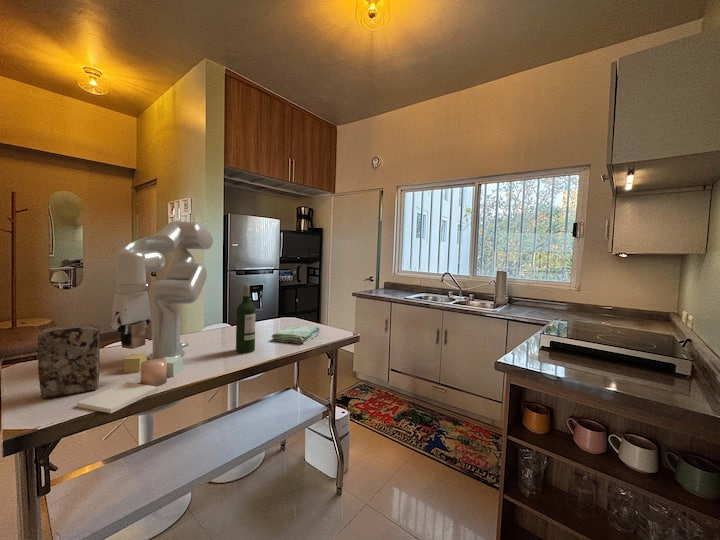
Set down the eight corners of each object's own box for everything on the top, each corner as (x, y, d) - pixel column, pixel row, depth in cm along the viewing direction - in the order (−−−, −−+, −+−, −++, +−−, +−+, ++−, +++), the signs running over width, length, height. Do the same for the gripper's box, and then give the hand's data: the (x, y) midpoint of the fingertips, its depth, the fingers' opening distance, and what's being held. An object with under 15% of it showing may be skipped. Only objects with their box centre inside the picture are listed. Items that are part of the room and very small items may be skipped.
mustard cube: (131, 367, 111) (131, 354, 111) (146, 367, 112) (146, 353, 112) (123, 372, 106) (123, 358, 106) (139, 372, 107) (139, 358, 107)
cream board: (127, 385, 96) (127, 381, 96) (157, 390, 93) (157, 386, 93) (77, 406, 82) (77, 402, 82) (111, 413, 79) (110, 408, 79)
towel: (270, 342, 149) (270, 332, 148) (289, 332, 169) (290, 323, 169) (304, 346, 144) (304, 335, 144) (320, 335, 165) (320, 325, 165)
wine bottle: (250, 354, 129) (251, 285, 128) (232, 353, 130) (233, 284, 128) (257, 348, 137) (258, 283, 136) (240, 347, 137) (241, 282, 136)
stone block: (100, 382, 97) (99, 321, 96) (100, 390, 92) (99, 326, 91) (40, 394, 88) (39, 327, 88) (37, 403, 83) (36, 332, 82)
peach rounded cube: (154, 377, 102) (154, 357, 102) (171, 380, 101) (171, 359, 101) (135, 386, 96) (135, 364, 95) (152, 389, 94) (152, 367, 94)
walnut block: (135, 343, 104) (134, 320, 103) (145, 344, 102) (144, 321, 102) (121, 347, 99) (121, 323, 98) (132, 349, 98) (132, 325, 97)
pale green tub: (166, 370, 109) (166, 356, 109) (182, 370, 110) (182, 357, 109) (155, 376, 103) (155, 362, 103) (173, 377, 104) (173, 363, 103)
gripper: (146, 284, 108) (147, 334, 110) (95, 291, 92) (98, 349, 93) (163, 286, 106) (164, 336, 108) (114, 293, 90) (116, 352, 92)
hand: (133, 341), depth 101 cm, fingers closed on walnut block, 4 cm apart
